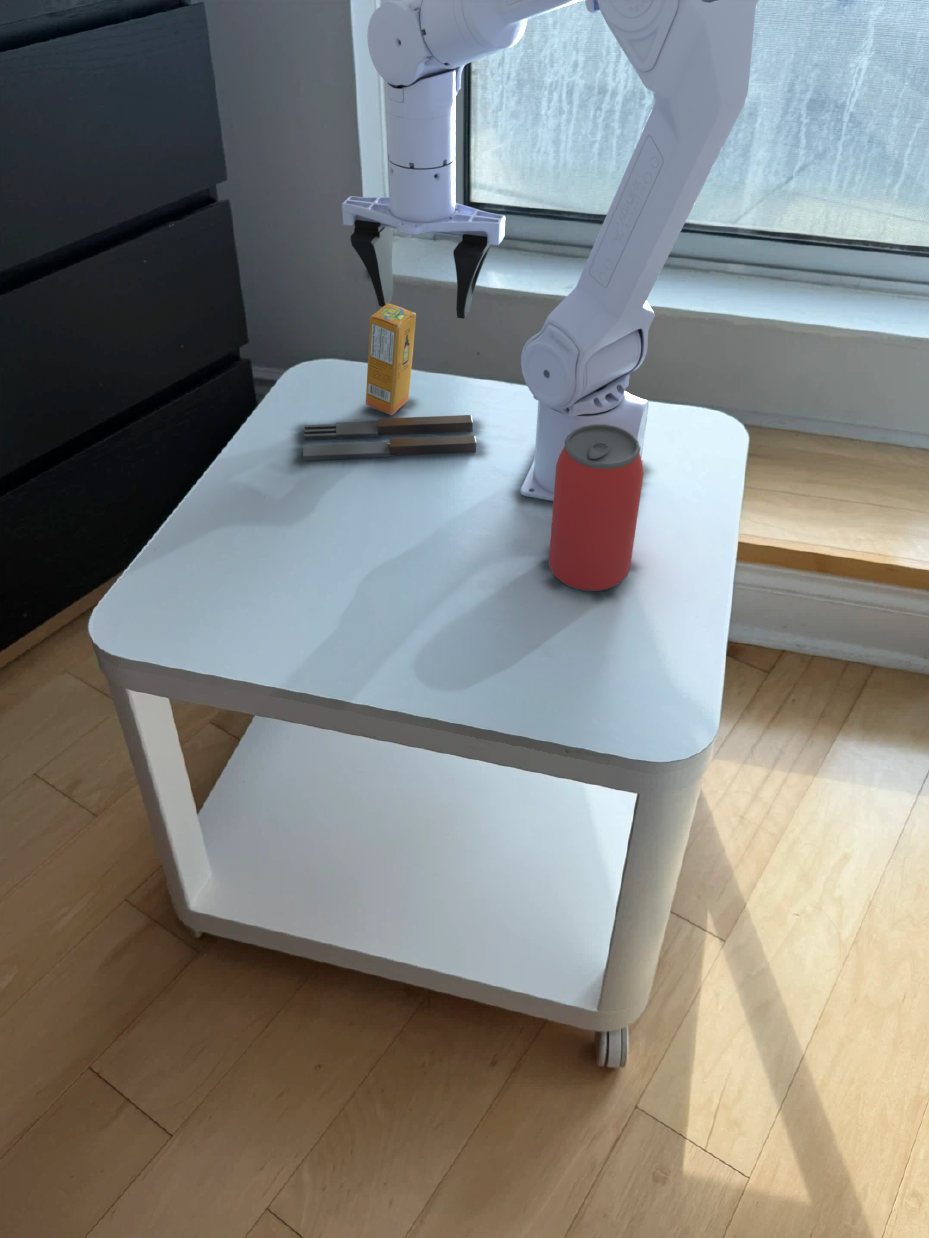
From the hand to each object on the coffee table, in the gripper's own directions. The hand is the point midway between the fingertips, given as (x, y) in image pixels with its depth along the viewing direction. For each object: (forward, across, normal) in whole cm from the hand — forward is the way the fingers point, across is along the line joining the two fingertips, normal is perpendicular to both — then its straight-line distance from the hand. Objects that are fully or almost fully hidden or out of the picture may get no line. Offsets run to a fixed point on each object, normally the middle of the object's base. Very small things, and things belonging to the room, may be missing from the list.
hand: (424, 308), depth 100 cm
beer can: (+10, +21, -21) cm, 31 cm away
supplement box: (+10, -4, -2) cm, 11 cm away
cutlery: (+10, -1, -8) cm, 13 cm away
